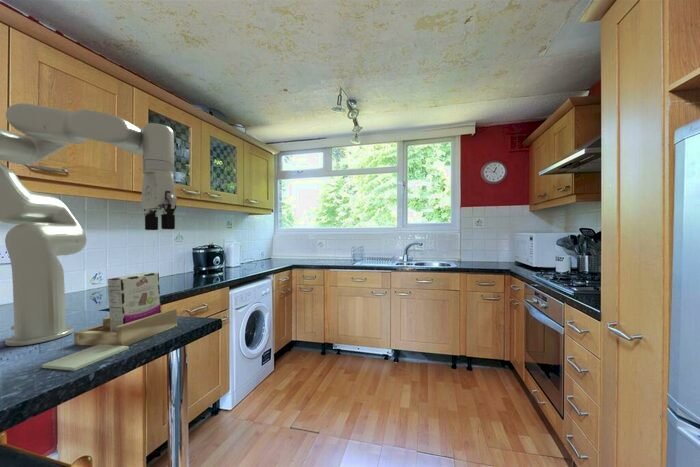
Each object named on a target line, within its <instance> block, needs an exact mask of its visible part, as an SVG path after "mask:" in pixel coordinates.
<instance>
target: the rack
mask: <svg viewBox="0 0 700 467" xmlns="http://www.w3.org/2000/svg"><path fill="white" fill-rule="evenodd" d="M177 319H178V312H177V308H171V309H168V310H164V311H161V313H158V314H155V315H151V316H148V317H145V318H142V319H139V320H136V321H132V322H129V323H126V324H123V325H120V326H117V327H116V330H117V332H102V331H99V329H100V328H103V323H101V324H98V325H95V326H91V327H89V328H85V329H81V330H79V331H75V332H74V331H73V341H74V345H78V346H90V347H93V346H96V345H99V344H101V345H117V346H130V345H133V344H135V343H137V342H140V341H143V340H145V339H148V338H150V337H152V336H155V335H158V334H160V333H163V332H166V331H168V330H171V329H173V328H176V327H178V320H177ZM175 326H176V327H175Z"/></svg>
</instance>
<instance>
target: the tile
mask: <svg viewBox="0 0 700 467" xmlns="http://www.w3.org/2000/svg"><path fill="white" fill-rule="evenodd" d="M129 346H130V345H128V346H117V345H101V344H99V345H96V346H90V347H87V348H84V349H82V350H80V351H76V352H74V353H71V354H68V355H66V356H62V357H60V358H57V359H55V360H52V361H48V362H45V363H43V364H41V368H43V369H51V370H53V369H54V370H63V371H73V372H75V371H77V370H78V371H79V370H80V369H82V368H85V367H88V366H90V365H93V364H94V363H97V362H100V361H102V360H104V359H107V358H110V357H112V356H114V355H116V354H119V353H122V352H124V351H127V350H129V349H130V348H129Z"/></svg>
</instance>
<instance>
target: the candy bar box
mask: <svg viewBox="0 0 700 467" xmlns="http://www.w3.org/2000/svg"><path fill="white" fill-rule="evenodd" d="M107 289H108V290H107V292H108V308H109V311H108V312H109V317H110V331H111V332H117V330H116V327H117V326H120V325H123V324H126V323H129V322H132V321H136V320H139V319H142V318H145V317H148V316H151V315H155V314H158V313H161V312H162V310H161V308H162V306H161V290H160V289H161V288H160V272H158V271H157V272H154V271H152V272H150V271H149V272H142V273H136V274H129V275H124V276H118V277H112V278H108V279H107Z"/></svg>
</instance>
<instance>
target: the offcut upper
mask: <svg viewBox="0 0 700 467" xmlns="http://www.w3.org/2000/svg"><path fill="white" fill-rule="evenodd" d="M102 324H103V328H110V316H107V317H104V318H102Z"/></svg>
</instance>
